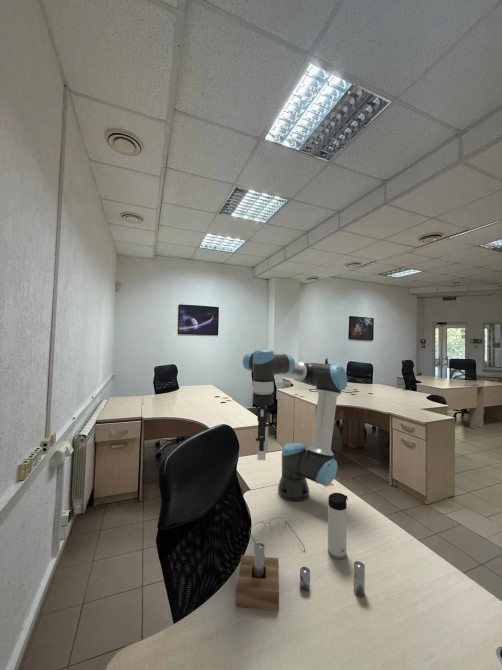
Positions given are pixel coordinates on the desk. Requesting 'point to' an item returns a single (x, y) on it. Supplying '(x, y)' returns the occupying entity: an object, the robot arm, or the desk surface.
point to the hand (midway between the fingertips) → (262, 451)
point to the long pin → (259, 560)
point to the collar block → (258, 584)
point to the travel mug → (337, 525)
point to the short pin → (305, 579)
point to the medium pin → (359, 578)
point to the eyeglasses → (272, 529)
